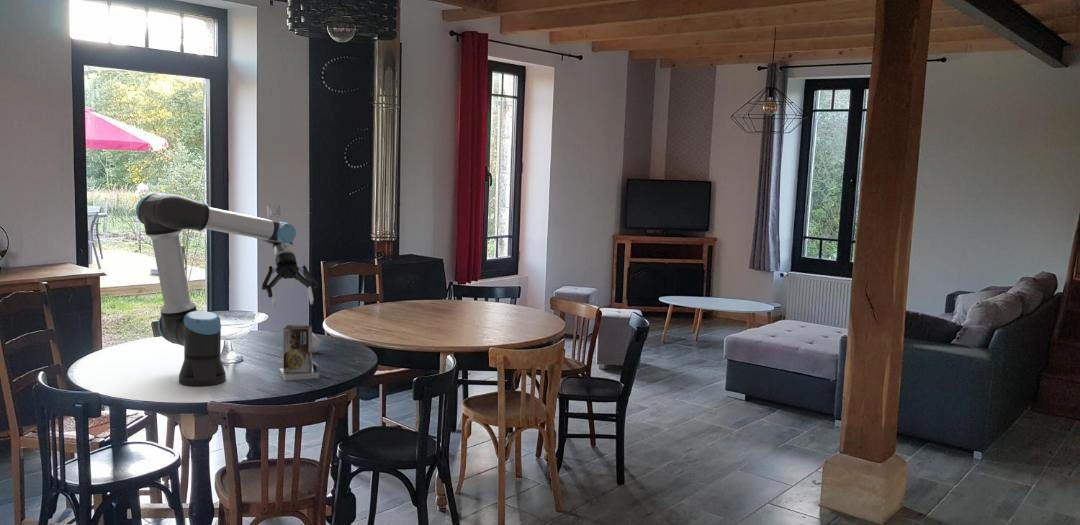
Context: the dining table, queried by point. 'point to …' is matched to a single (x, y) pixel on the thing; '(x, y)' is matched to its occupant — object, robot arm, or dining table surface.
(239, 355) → the dining table surface
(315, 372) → the tray
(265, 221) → the robot arm
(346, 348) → the dining table surface
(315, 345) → the die
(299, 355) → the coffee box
